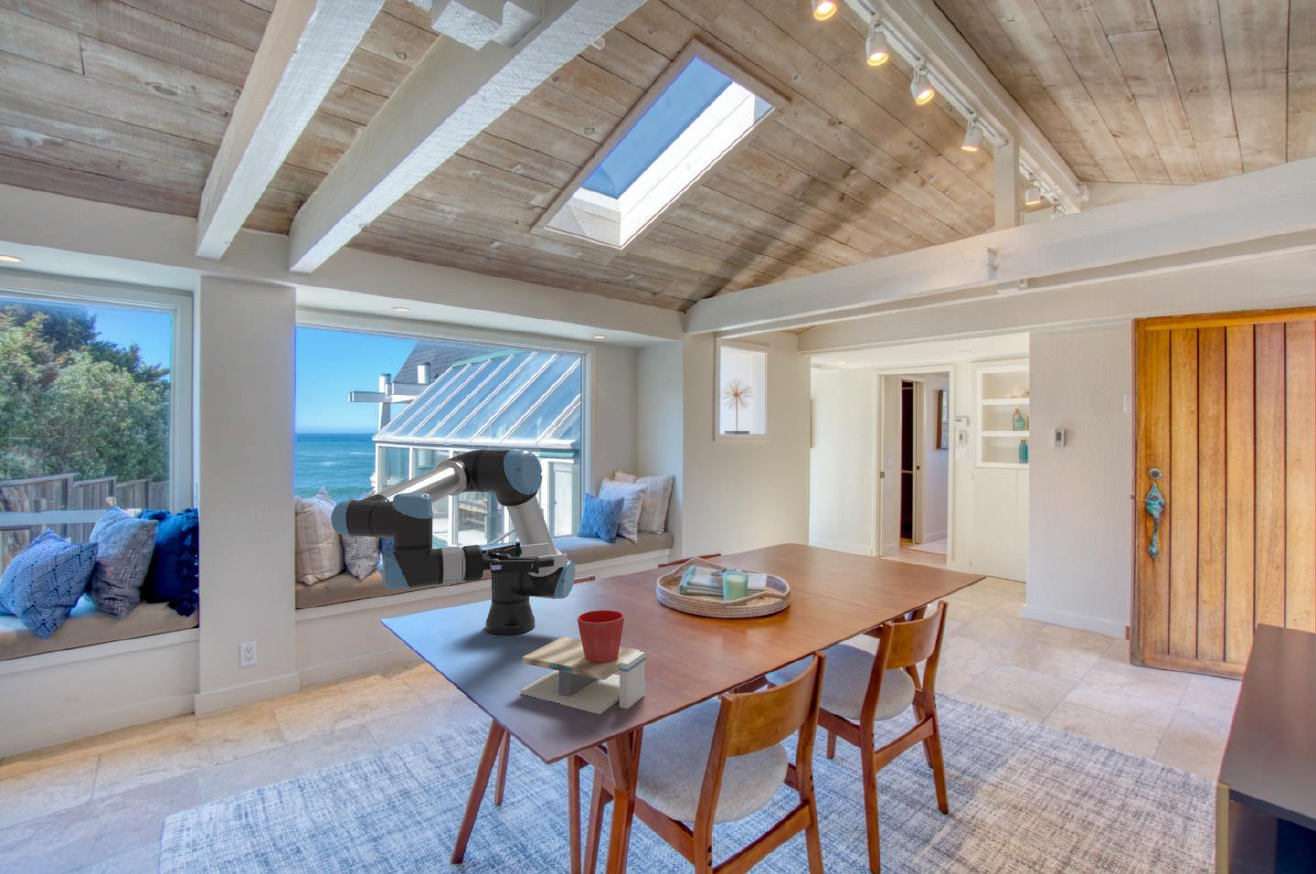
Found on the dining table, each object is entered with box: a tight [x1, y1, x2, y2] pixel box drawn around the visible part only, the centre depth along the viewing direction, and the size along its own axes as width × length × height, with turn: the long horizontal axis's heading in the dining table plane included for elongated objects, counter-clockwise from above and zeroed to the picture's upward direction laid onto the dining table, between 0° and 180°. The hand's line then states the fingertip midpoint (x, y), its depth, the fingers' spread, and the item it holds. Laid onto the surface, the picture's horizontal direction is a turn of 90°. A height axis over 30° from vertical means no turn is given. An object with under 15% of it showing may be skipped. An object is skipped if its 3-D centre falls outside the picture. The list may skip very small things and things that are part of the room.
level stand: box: [520, 650, 646, 715], centre depth 142 cm, size 26×18×10 cm
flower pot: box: [577, 609, 625, 663], centre depth 140 cm, size 11×11×10 cm
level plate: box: [521, 636, 641, 680], centre depth 142 cm, size 23×16×2 cm
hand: (557, 554), depth 138 cm, fingers open, 13 cm apart
